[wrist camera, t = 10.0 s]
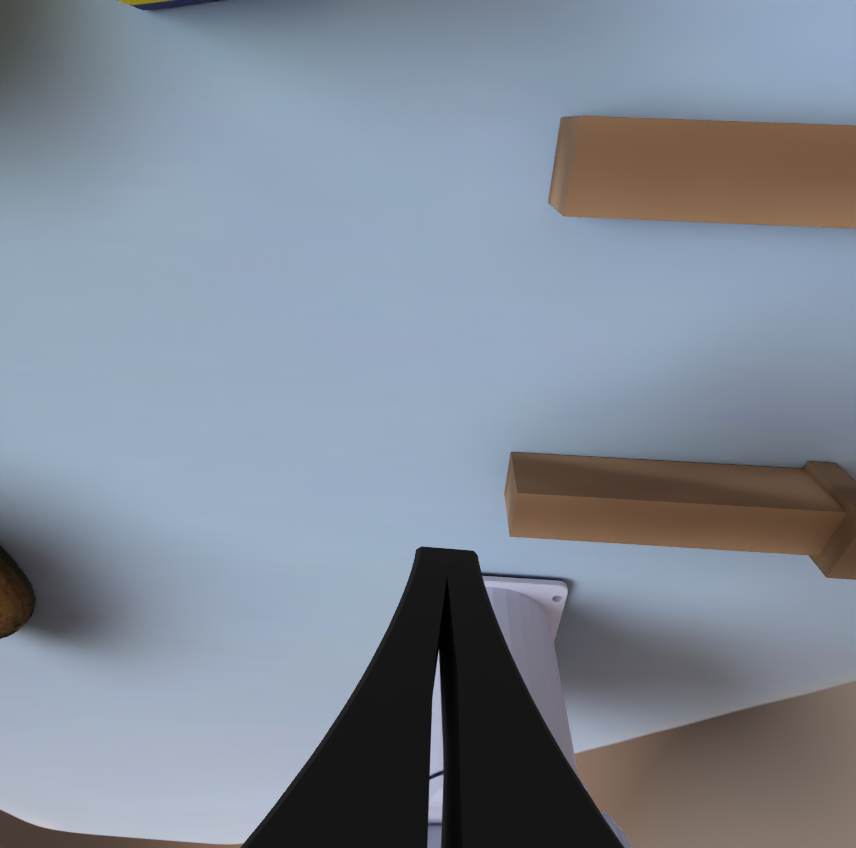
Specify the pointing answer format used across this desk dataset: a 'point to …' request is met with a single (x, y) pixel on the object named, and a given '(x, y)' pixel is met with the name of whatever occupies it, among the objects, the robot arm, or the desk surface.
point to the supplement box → (160, 3)
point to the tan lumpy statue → (13, 596)
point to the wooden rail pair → (696, 202)
